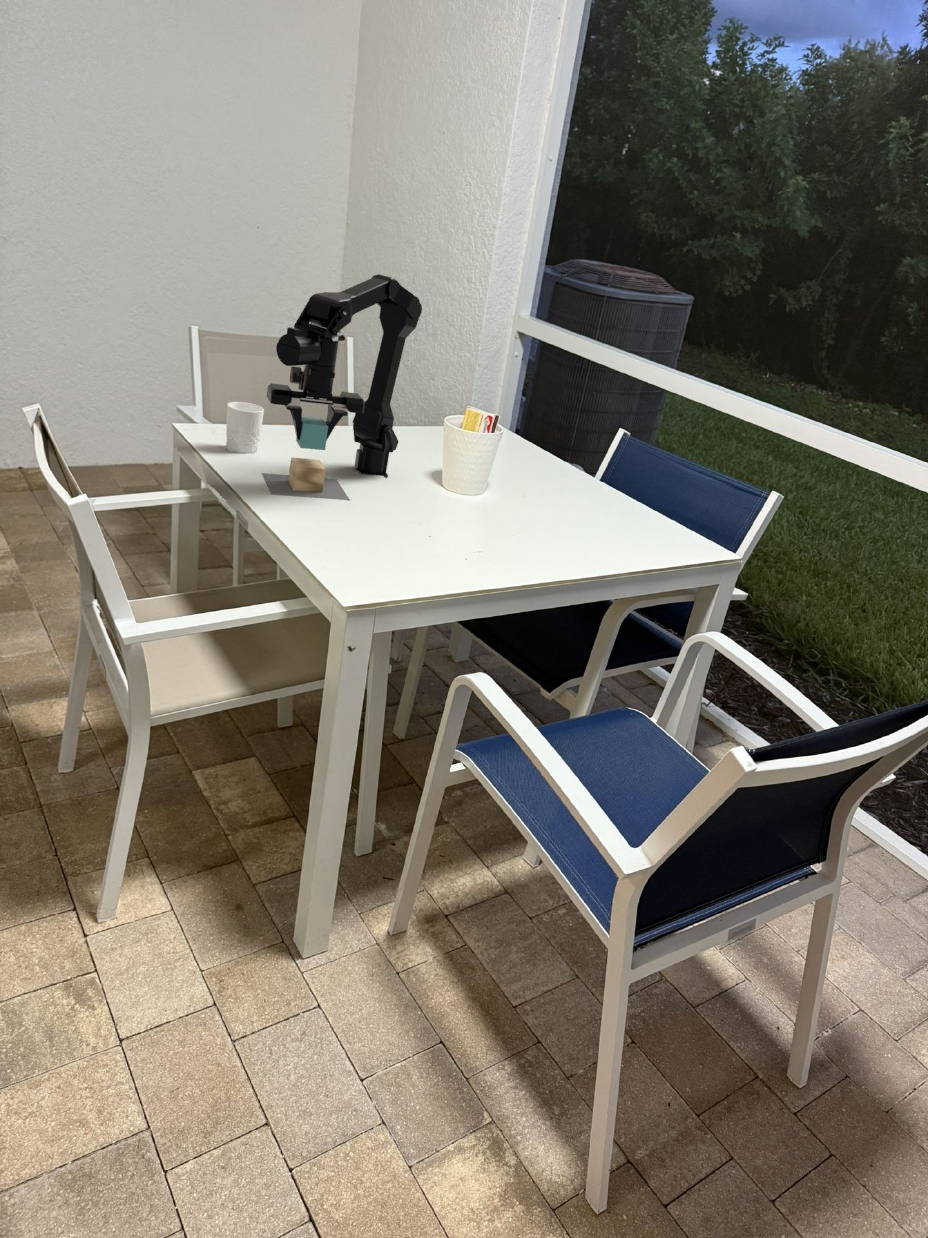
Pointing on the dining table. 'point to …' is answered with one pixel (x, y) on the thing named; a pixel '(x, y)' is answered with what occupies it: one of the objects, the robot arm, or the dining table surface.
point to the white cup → (243, 427)
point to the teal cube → (313, 433)
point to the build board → (283, 487)
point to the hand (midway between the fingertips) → (311, 440)
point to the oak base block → (306, 475)
